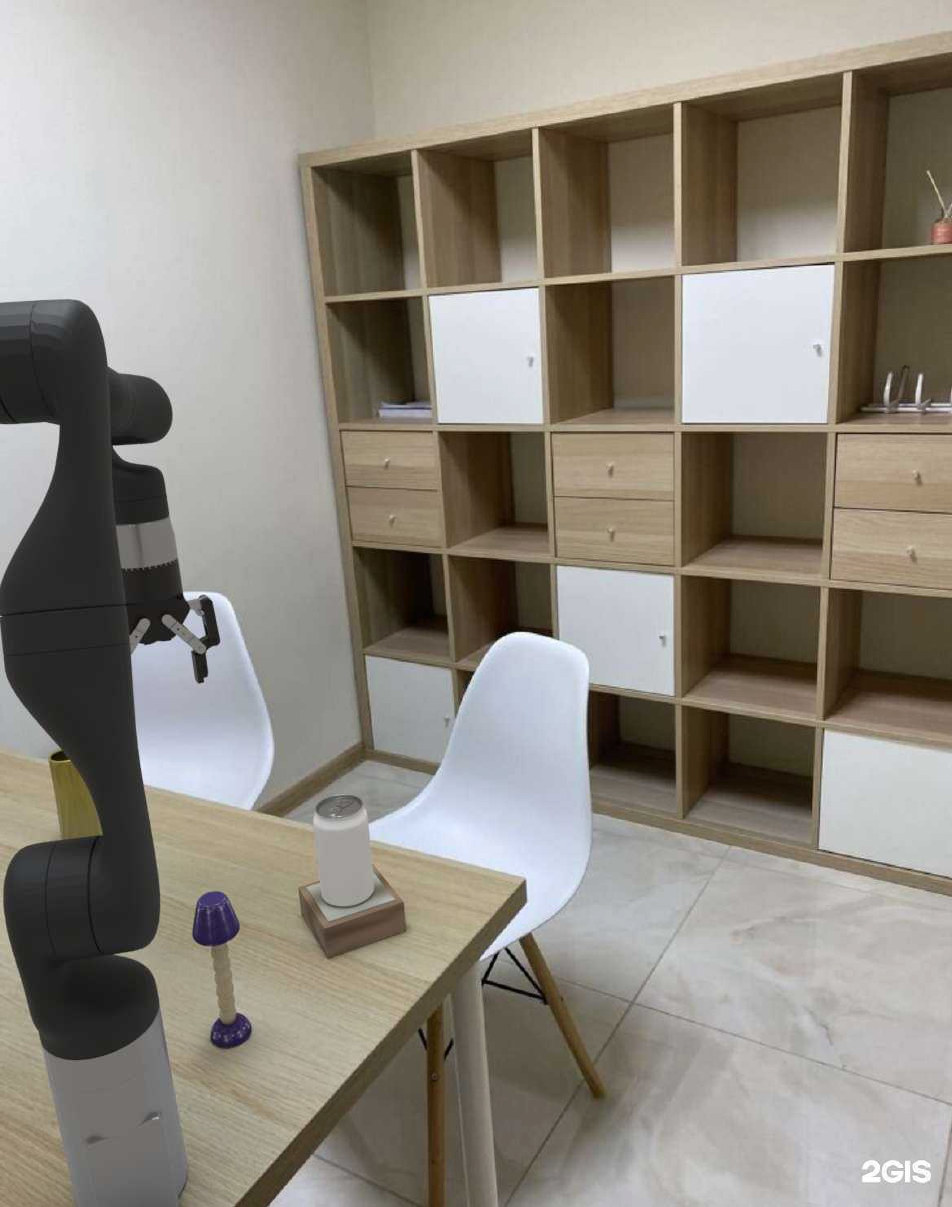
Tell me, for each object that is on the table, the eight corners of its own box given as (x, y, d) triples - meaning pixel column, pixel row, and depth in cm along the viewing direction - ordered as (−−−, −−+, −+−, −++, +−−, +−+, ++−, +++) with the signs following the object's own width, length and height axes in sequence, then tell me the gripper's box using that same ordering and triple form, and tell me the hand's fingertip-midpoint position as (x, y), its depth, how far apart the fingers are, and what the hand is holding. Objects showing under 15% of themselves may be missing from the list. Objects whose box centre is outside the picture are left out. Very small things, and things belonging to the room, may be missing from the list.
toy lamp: (264, 1030, 101) (244, 892, 97) (230, 1058, 98) (208, 916, 93) (232, 1014, 104) (212, 879, 99) (198, 1041, 100) (176, 902, 96)
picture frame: (406, 930, 117) (403, 900, 116) (327, 958, 112) (324, 927, 111) (375, 890, 125) (372, 862, 124) (301, 915, 121) (298, 885, 120)
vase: (61, 838, 143) (44, 750, 139) (104, 827, 145) (89, 741, 141) (63, 857, 138) (45, 766, 134) (108, 846, 140) (92, 756, 136)
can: (310, 901, 116) (300, 812, 113) (342, 874, 122) (333, 788, 118) (354, 914, 113) (344, 823, 110) (385, 886, 119) (377, 798, 115)
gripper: (81, 574, 105) (105, 712, 109) (213, 554, 111) (230, 685, 115) (74, 561, 111) (97, 692, 116) (199, 542, 117) (216, 667, 122)
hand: (164, 688), depth 115 cm, fingers open, 8 cm apart
